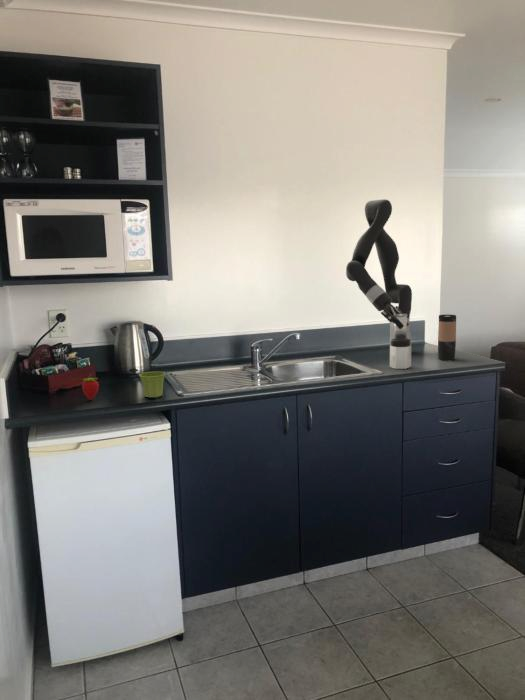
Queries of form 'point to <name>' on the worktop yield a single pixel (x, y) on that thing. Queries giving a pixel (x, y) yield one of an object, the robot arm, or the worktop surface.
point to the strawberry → (90, 387)
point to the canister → (402, 332)
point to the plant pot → (152, 383)
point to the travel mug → (446, 337)
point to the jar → (400, 353)
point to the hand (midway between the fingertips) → (404, 326)
